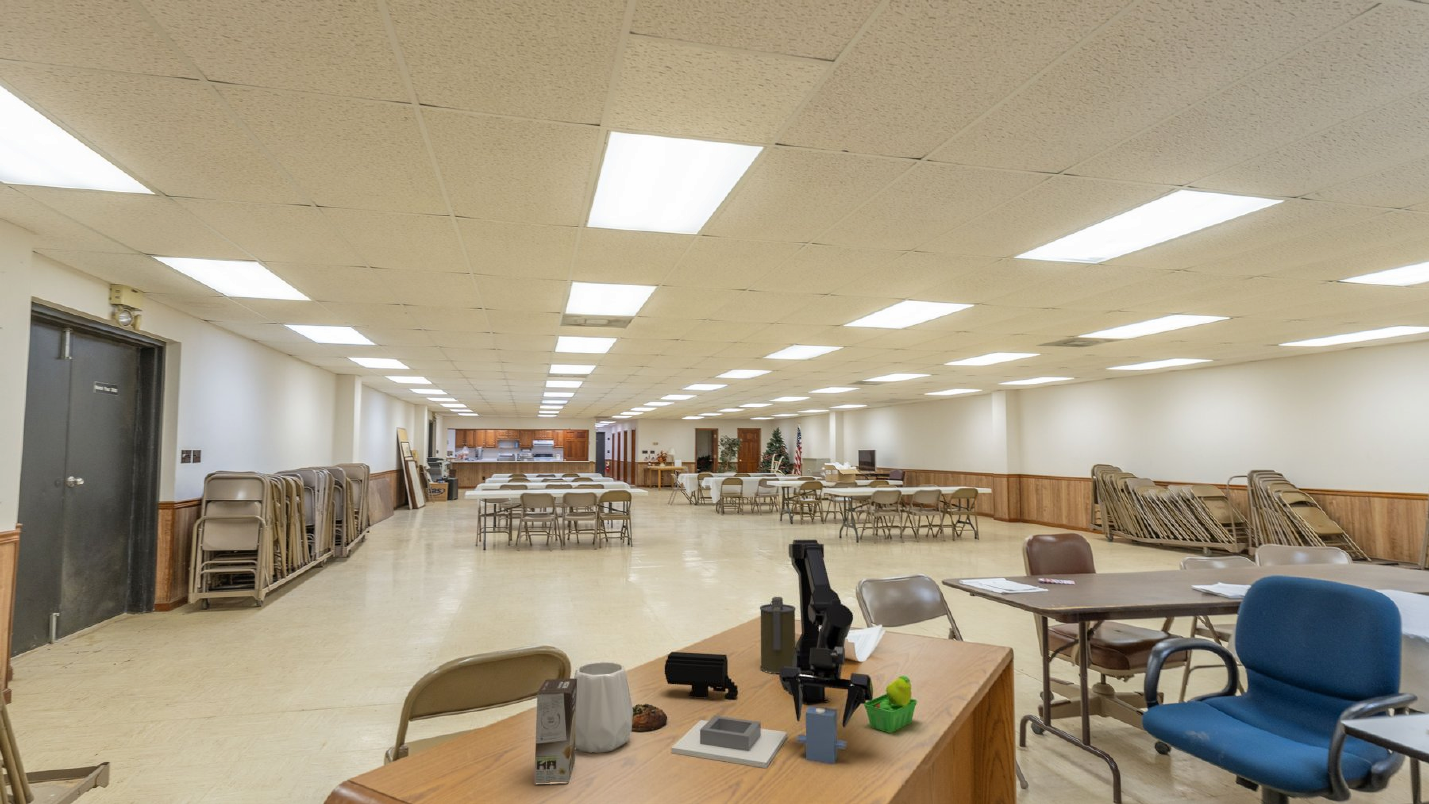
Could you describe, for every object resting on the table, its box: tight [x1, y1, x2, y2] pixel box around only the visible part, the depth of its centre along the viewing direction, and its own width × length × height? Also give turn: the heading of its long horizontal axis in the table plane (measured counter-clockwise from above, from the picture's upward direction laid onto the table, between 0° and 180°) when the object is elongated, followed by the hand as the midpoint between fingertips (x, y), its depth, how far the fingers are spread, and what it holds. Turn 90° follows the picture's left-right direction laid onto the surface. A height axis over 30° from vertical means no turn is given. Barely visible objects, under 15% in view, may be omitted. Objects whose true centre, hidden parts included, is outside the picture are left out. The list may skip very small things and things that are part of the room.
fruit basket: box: [863, 675, 918, 734], centre depth 148 cm, size 11×9×11 cm
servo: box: [796, 705, 848, 765], centre depth 131 cm, size 10×4×10 cm, turn 69°
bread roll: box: [631, 703, 668, 732], centre depth 150 cm, size 11×11×5 cm
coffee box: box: [533, 677, 577, 785], centre depth 125 cm, size 9×6×16 cm
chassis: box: [670, 715, 788, 769], centre depth 138 cm, size 20×16×4 cm
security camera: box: [664, 651, 739, 701], centre depth 168 cm, size 7×18×10 cm, turn 79°
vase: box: [573, 661, 633, 754], centre depth 139 cm, size 14×14×15 cm
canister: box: [759, 596, 796, 675], centre depth 191 cm, size 11×10×20 cm
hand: (820, 723), depth 131 cm, fingers open, 9 cm apart
